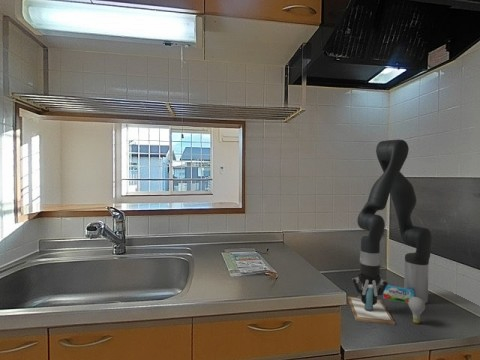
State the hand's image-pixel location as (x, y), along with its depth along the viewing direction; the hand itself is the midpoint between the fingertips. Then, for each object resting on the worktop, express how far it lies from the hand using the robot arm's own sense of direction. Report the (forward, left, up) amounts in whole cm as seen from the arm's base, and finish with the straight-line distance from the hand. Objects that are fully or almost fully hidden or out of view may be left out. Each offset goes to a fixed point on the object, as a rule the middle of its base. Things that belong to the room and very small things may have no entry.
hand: (368, 303), depth 118 cm
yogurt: (-21, +2, -4) cm, 21 cm away
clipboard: (-2, -1, -4) cm, 4 cm away
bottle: (0, 0, -3) cm, 3 cm away
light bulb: (-7, +15, -4) cm, 17 cm away
